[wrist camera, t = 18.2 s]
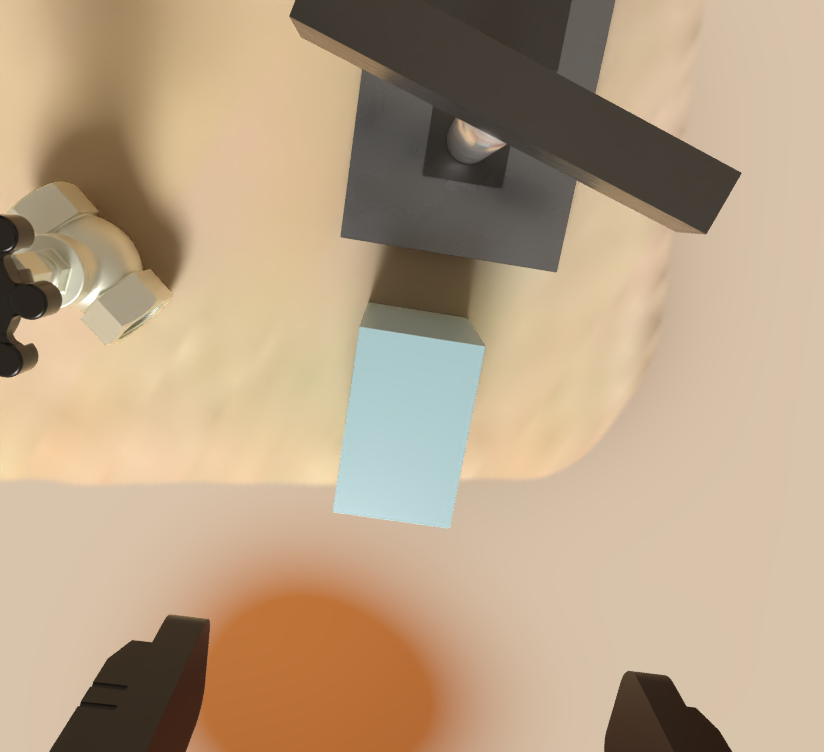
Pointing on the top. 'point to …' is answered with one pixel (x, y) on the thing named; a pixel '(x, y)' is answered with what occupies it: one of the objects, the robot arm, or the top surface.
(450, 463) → the light blue block
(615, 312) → the top surface
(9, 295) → the valve
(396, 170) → the housing
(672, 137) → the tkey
